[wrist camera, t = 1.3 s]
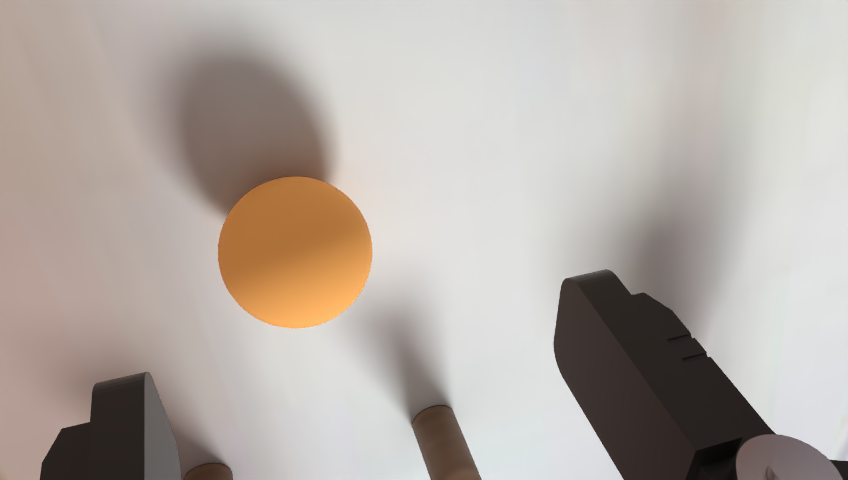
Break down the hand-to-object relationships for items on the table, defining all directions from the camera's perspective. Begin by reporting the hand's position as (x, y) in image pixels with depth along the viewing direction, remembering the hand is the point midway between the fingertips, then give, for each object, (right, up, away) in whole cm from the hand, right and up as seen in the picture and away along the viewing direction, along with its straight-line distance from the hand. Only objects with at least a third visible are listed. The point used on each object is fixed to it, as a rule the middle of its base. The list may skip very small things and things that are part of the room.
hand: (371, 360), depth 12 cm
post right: (+1, -9, +31) cm, 32 cm away
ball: (-4, +1, +17) cm, 17 cm away
